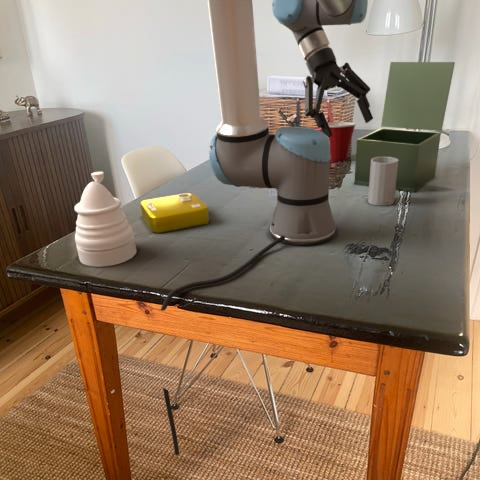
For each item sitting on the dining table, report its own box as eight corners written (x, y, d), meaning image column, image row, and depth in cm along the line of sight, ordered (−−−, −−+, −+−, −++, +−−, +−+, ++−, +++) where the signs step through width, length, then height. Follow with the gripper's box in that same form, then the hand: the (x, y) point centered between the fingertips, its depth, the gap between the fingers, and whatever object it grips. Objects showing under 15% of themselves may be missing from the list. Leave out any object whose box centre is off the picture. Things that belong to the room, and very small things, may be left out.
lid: (454, 62, 138) (455, 62, 139) (390, 61, 148) (391, 62, 149) (440, 130, 145) (441, 130, 146) (380, 126, 155) (381, 126, 156)
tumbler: (386, 207, 132) (390, 164, 127) (363, 202, 136) (366, 161, 131) (398, 200, 137) (403, 158, 131) (376, 196, 141) (379, 155, 135)
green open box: (413, 192, 141) (419, 145, 135) (354, 183, 151) (356, 139, 144) (434, 177, 152) (441, 132, 146) (377, 170, 162) (381, 128, 155)
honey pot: (101, 241, 123) (85, 166, 114) (147, 246, 119) (134, 168, 110) (67, 263, 113) (47, 183, 104) (116, 269, 109) (99, 186, 100)
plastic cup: (352, 154, 180) (354, 118, 174) (355, 162, 171) (358, 125, 165) (321, 155, 182) (322, 120, 175) (323, 163, 172) (324, 126, 166)
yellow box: (141, 216, 137) (138, 198, 135) (194, 206, 141) (192, 189, 139) (153, 234, 125) (150, 216, 123) (211, 223, 129) (209, 205, 127)
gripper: (348, 49, 143) (378, 120, 145) (273, 75, 136) (305, 149, 138) (362, 33, 136) (393, 108, 138) (283, 60, 129) (317, 138, 131)
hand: (349, 128), depth 138 cm, fingers open, 13 cm apart
